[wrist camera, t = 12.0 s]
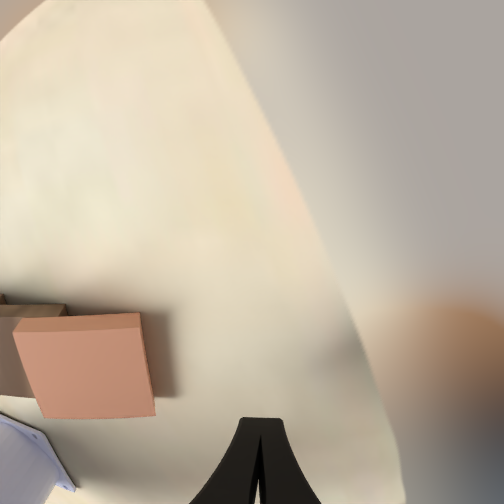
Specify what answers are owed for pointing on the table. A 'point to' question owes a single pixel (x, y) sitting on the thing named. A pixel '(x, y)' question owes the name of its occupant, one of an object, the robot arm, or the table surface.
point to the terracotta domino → (87, 365)
